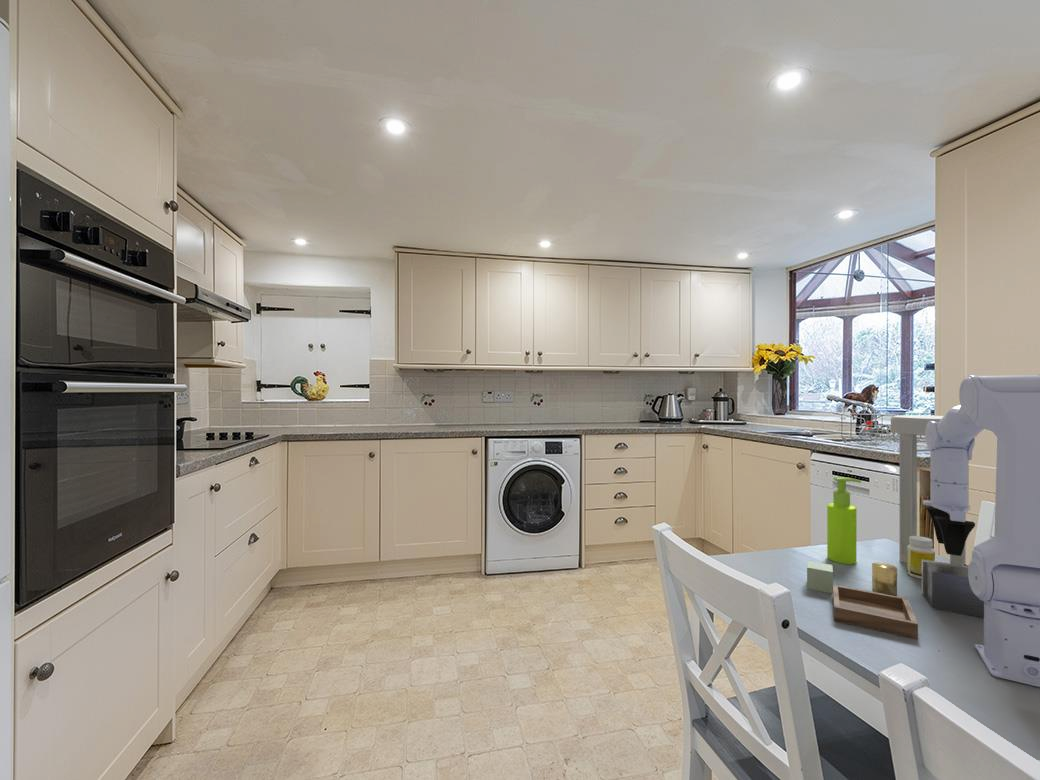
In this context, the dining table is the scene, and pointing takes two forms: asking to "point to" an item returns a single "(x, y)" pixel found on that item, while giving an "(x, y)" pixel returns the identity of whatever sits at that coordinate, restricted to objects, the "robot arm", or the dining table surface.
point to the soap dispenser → (841, 525)
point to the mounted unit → (950, 588)
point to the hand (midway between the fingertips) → (949, 548)
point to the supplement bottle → (918, 554)
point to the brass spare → (884, 578)
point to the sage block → (820, 577)
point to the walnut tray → (874, 611)
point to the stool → (912, 478)
